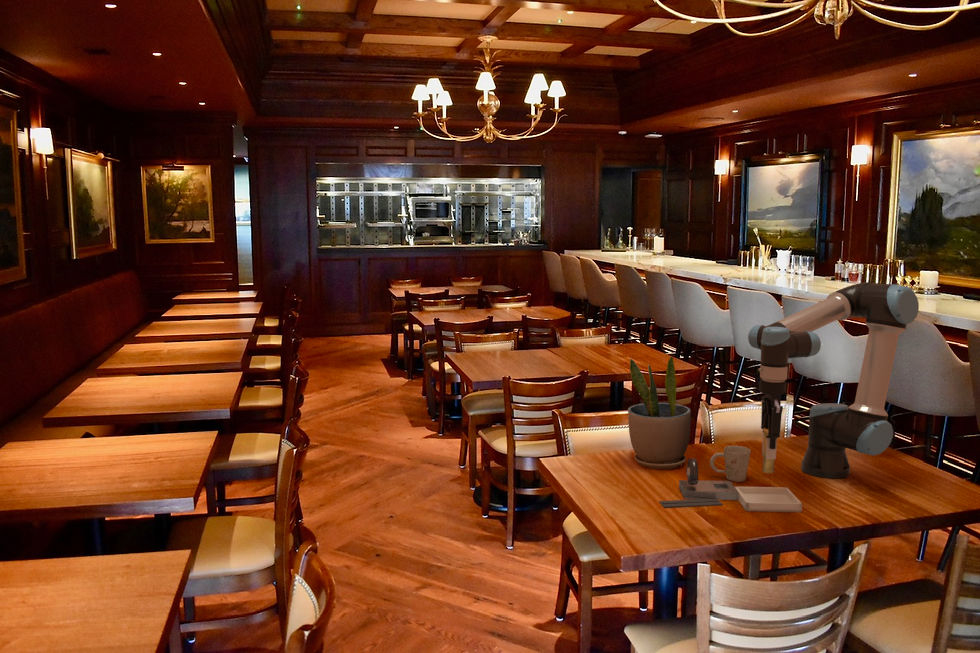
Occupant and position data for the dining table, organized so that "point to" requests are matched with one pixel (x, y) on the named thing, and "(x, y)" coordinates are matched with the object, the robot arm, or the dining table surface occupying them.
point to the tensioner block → (705, 486)
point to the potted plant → (658, 423)
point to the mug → (733, 462)
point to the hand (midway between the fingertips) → (768, 456)
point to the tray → (768, 499)
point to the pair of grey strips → (690, 503)
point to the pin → (767, 463)
